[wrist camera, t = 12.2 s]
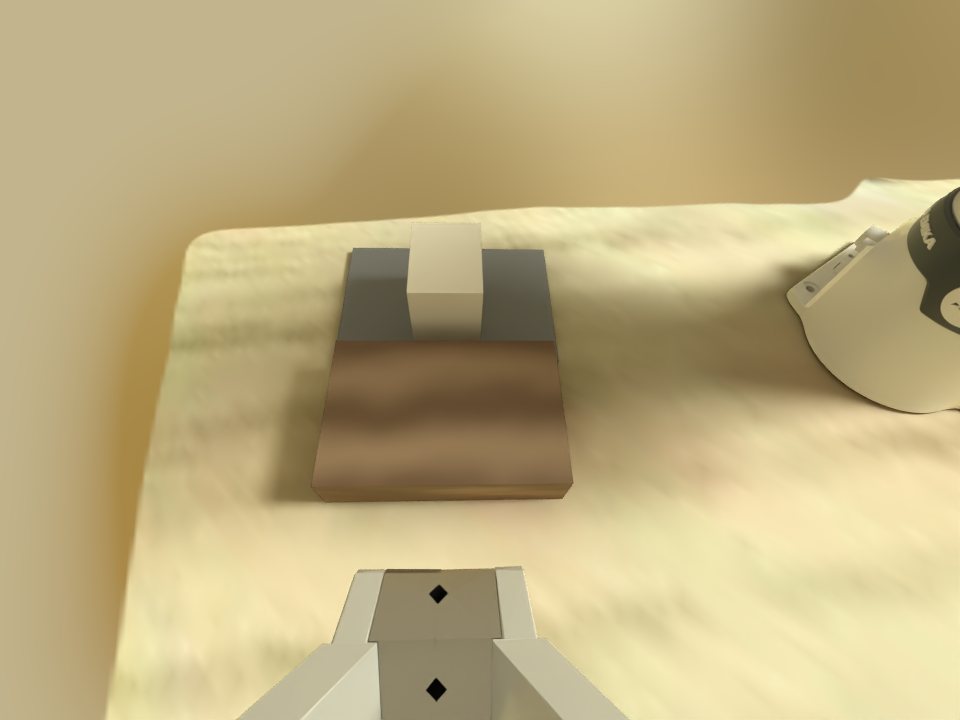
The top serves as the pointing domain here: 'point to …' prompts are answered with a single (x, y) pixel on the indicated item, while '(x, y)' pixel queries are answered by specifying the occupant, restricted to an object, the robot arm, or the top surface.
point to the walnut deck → (443, 422)
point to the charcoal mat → (506, 297)
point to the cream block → (445, 281)
